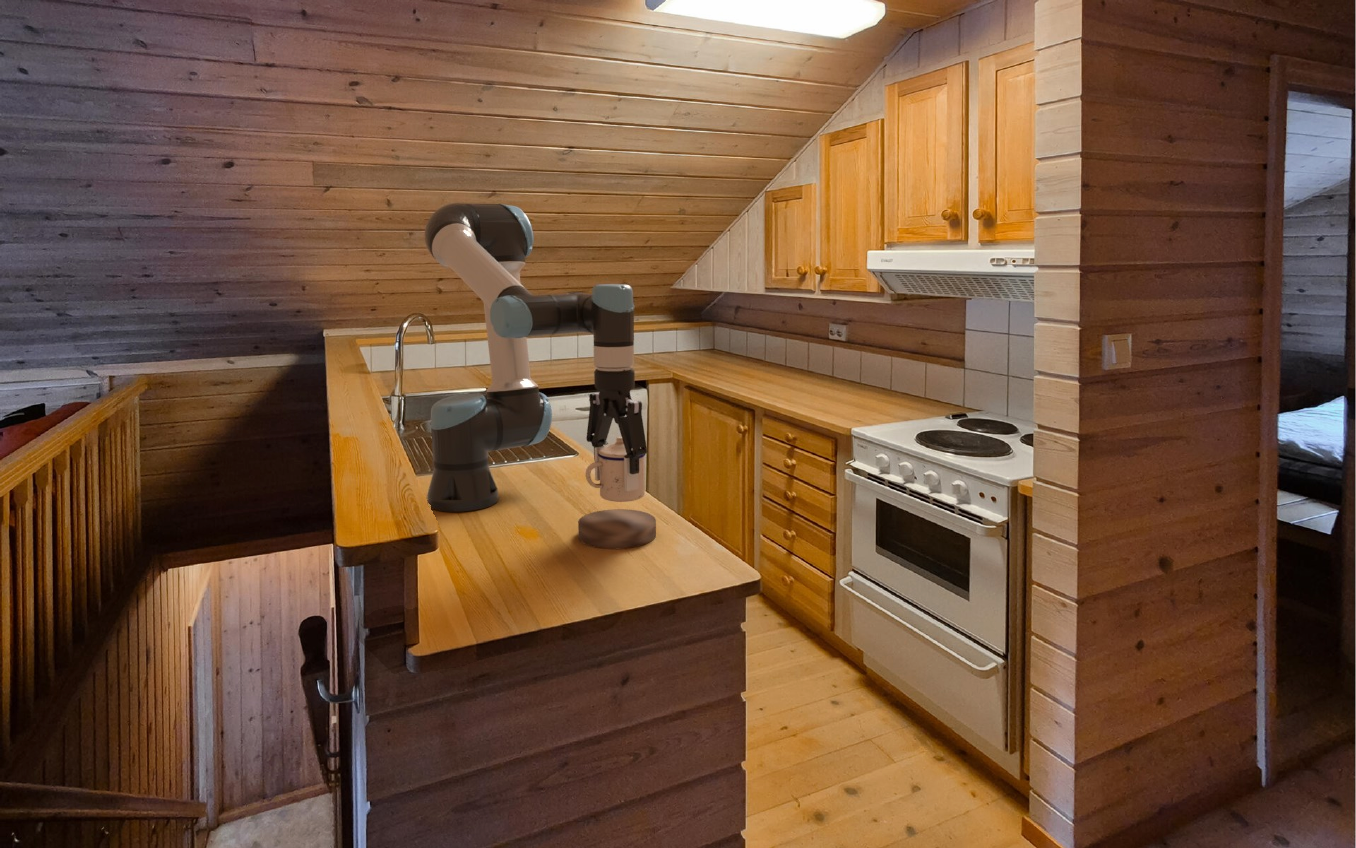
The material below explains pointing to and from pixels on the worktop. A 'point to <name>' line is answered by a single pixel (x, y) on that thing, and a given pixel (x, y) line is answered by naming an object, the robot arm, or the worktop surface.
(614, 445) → the teacup with lid
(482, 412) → the robot arm
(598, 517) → the walnut stand
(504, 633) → the worktop surface
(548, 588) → the worktop surface
